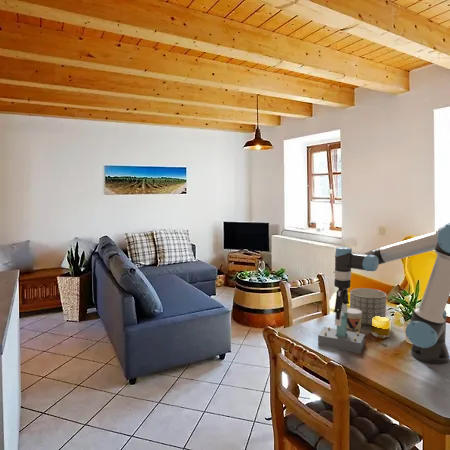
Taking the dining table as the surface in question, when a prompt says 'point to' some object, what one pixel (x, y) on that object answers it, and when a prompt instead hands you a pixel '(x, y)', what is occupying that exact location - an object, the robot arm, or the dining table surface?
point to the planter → (368, 303)
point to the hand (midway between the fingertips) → (341, 320)
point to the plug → (343, 326)
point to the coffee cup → (354, 320)
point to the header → (341, 340)
